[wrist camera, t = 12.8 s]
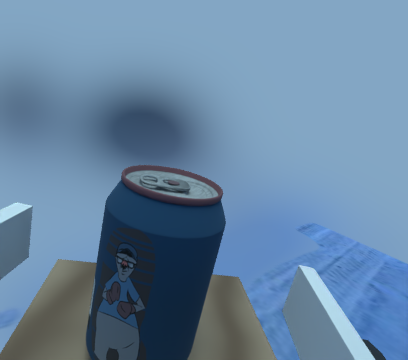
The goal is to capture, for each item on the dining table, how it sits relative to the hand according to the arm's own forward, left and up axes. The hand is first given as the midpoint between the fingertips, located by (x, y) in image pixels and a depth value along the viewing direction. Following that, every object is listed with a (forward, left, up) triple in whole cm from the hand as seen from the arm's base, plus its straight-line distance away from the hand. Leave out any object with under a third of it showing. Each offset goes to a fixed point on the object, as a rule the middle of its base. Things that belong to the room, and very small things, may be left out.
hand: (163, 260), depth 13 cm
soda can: (0, -3, -9) cm, 9 cm away
